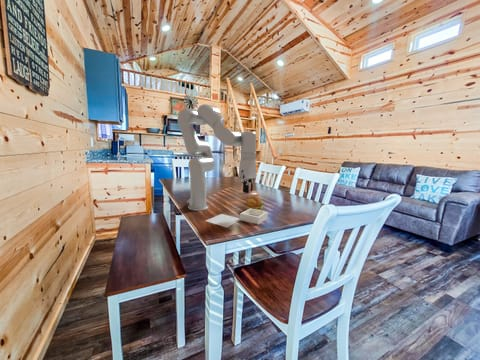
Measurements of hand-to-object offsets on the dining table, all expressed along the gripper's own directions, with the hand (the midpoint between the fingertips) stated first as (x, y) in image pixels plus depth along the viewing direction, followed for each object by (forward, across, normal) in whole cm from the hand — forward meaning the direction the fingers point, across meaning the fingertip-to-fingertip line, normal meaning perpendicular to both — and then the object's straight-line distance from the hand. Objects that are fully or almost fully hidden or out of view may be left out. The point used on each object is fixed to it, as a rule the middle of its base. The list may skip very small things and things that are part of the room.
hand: (247, 191), depth 109 cm
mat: (+16, +8, -9) cm, 20 cm away
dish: (+16, -3, +2) cm, 16 cm away
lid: (+1, 0, 0) cm, 1 cm away
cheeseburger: (+16, -16, -5) cm, 23 cm away
